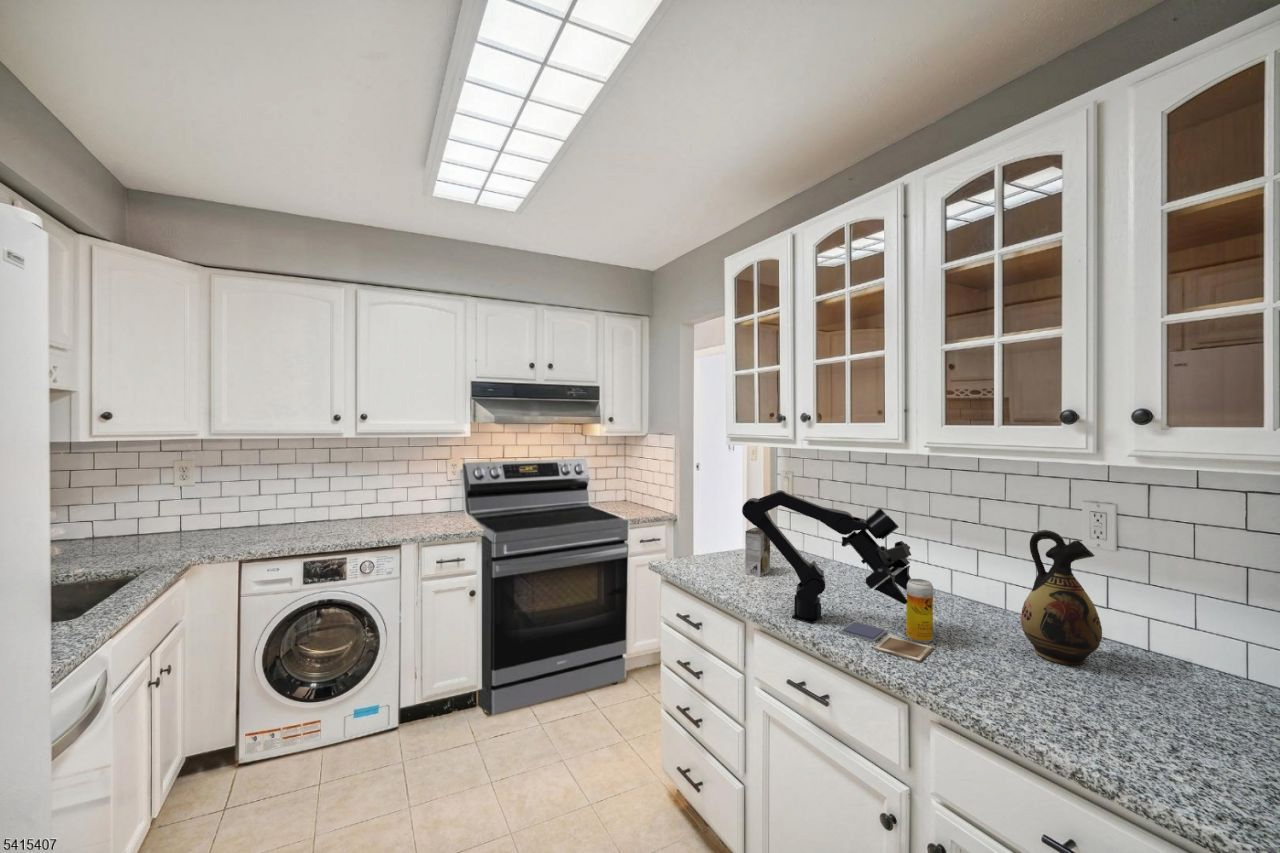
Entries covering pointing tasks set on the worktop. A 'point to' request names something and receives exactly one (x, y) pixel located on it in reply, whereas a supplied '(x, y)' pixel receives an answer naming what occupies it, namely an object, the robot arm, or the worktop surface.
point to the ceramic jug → (1060, 606)
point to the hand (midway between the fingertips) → (911, 599)
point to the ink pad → (863, 631)
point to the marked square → (903, 648)
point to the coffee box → (757, 552)
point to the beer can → (919, 610)
